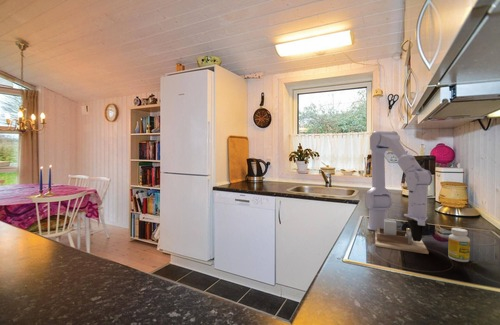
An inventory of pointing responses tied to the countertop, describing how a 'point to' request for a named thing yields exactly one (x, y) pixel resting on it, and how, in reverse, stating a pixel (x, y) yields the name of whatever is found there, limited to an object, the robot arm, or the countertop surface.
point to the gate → (409, 235)
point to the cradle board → (398, 242)
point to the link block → (390, 227)
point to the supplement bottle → (459, 245)
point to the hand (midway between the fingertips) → (416, 240)
